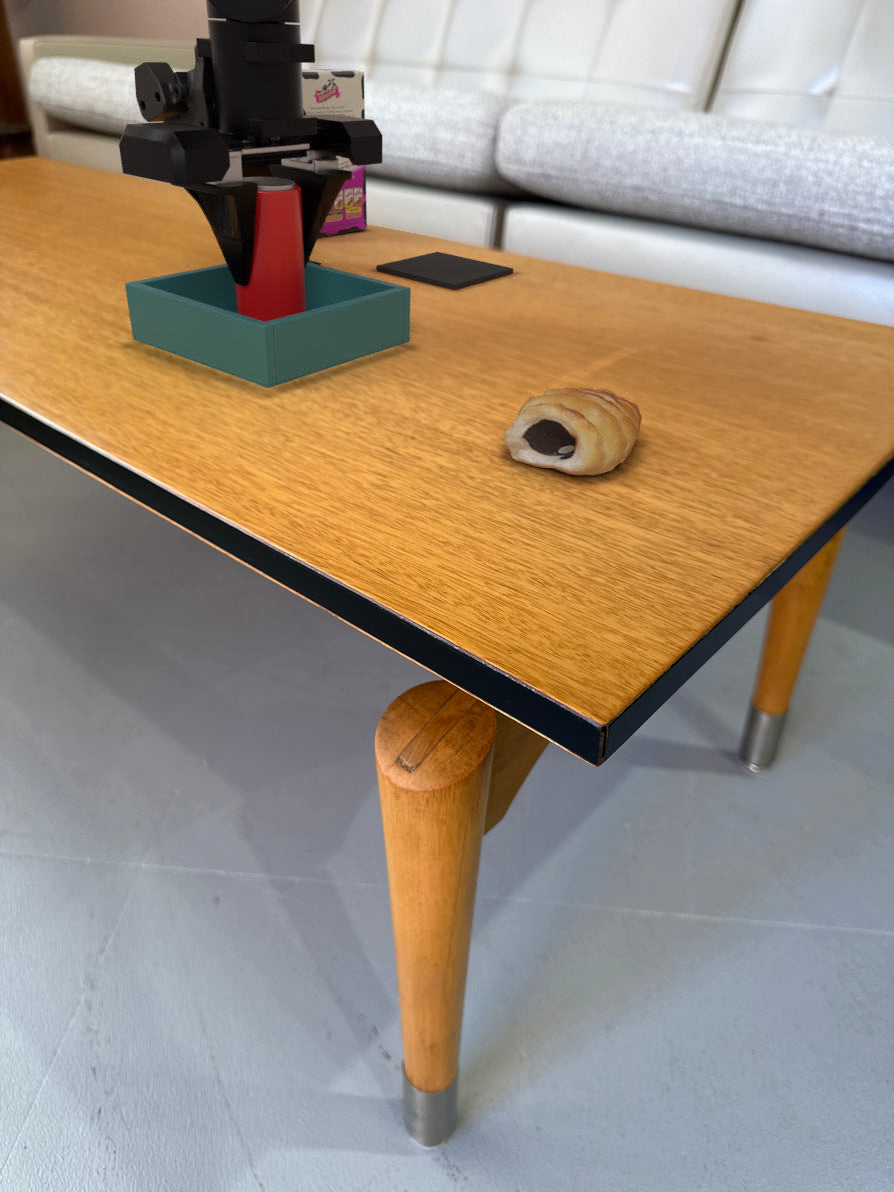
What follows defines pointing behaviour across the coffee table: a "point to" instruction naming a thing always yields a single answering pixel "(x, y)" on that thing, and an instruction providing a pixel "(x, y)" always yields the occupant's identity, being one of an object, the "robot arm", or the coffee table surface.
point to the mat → (445, 270)
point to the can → (275, 253)
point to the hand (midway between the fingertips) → (270, 278)
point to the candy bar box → (348, 212)
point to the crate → (269, 322)
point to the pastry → (574, 431)
